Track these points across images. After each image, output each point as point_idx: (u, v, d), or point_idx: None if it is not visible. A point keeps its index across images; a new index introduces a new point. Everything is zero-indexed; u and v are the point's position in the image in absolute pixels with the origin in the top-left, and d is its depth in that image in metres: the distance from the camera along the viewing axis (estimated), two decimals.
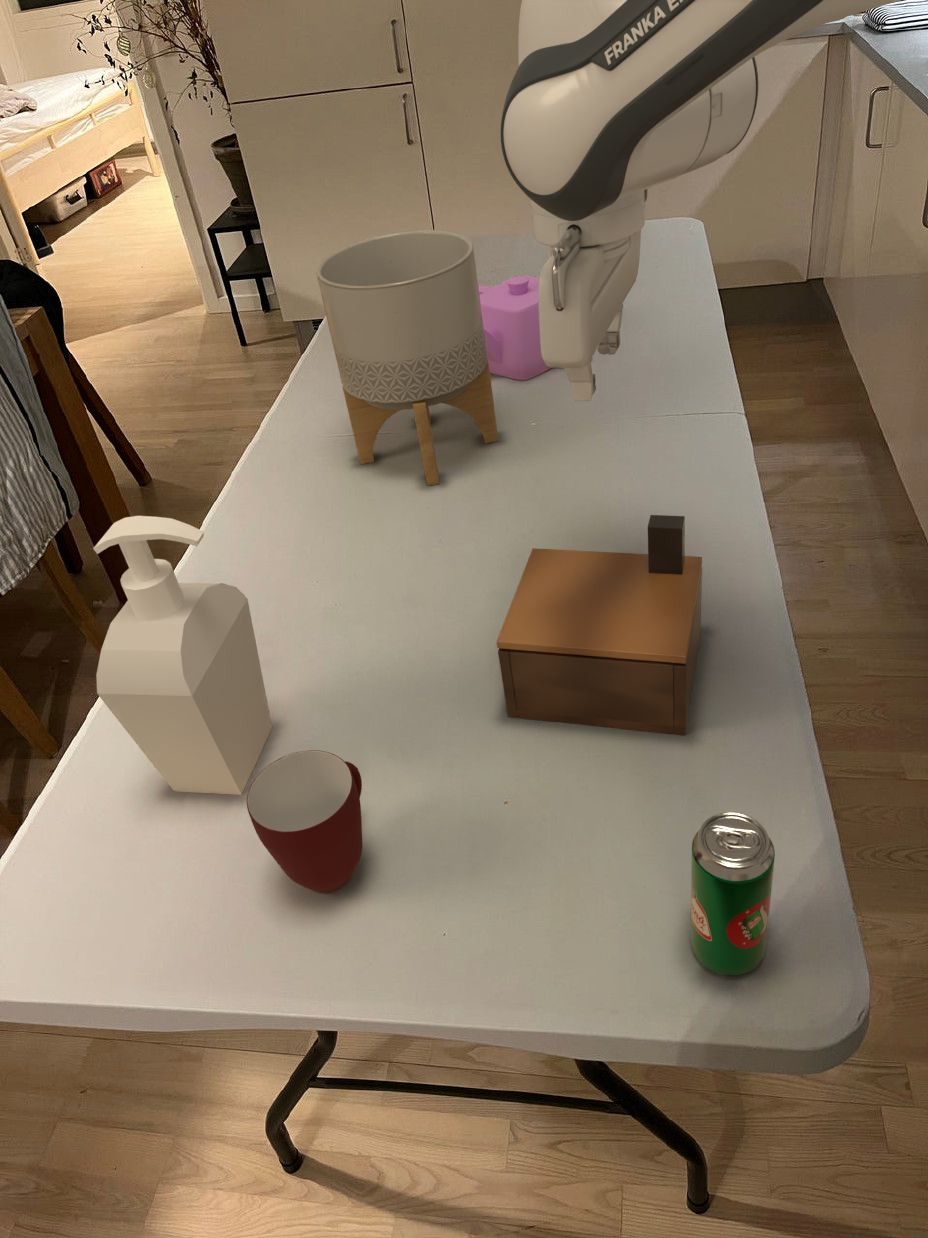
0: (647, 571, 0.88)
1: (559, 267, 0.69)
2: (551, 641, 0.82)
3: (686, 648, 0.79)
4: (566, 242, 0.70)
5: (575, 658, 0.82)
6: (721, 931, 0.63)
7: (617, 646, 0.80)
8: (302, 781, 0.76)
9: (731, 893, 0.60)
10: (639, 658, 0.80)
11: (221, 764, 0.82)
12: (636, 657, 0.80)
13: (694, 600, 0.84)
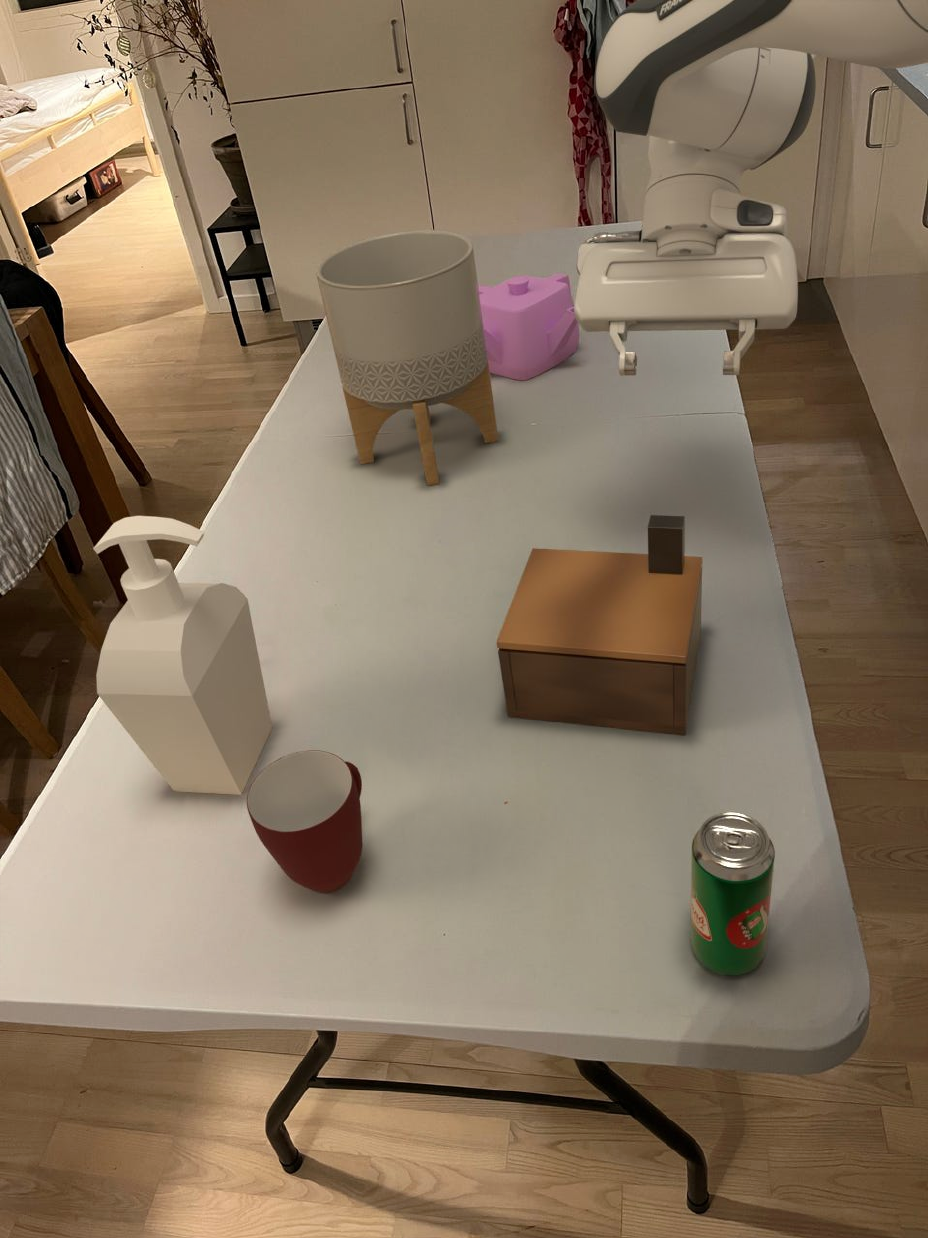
0: (647, 571, 0.88)
1: None
2: (551, 641, 0.82)
3: (686, 648, 0.79)
4: (605, 232, 0.92)
5: (575, 658, 0.82)
6: (721, 931, 0.63)
7: (617, 646, 0.80)
8: (302, 781, 0.76)
9: (731, 893, 0.60)
10: (639, 658, 0.80)
11: (221, 764, 0.82)
12: (636, 657, 0.80)
13: (694, 600, 0.84)
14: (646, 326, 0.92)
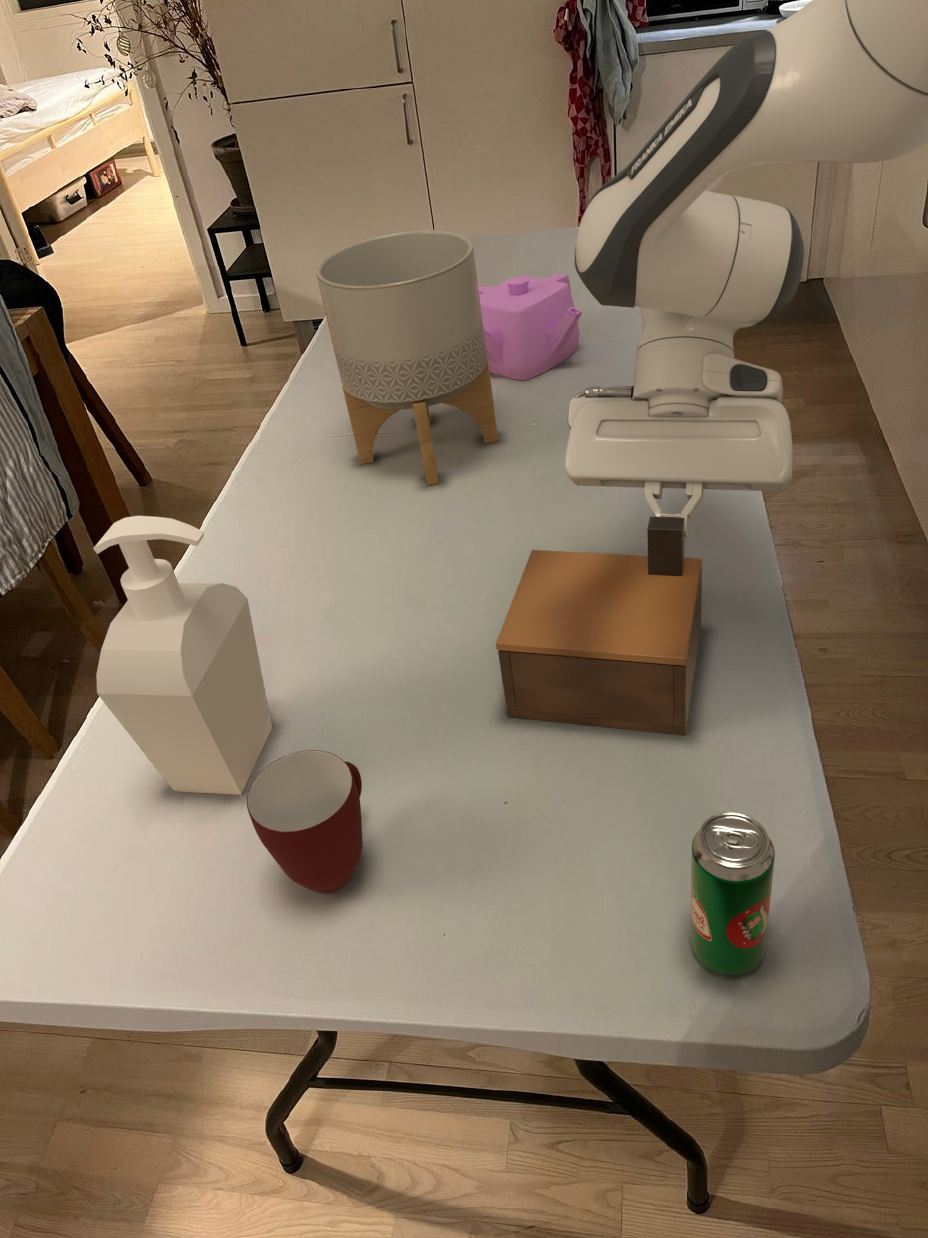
0: (647, 572, 0.88)
1: (572, 398, 0.91)
2: (550, 643, 0.82)
3: (686, 650, 0.79)
4: (596, 387, 0.90)
5: (575, 658, 0.82)
6: (721, 931, 0.63)
7: (617, 648, 0.80)
8: (302, 781, 0.76)
9: (731, 893, 0.60)
10: (639, 660, 0.80)
11: (221, 764, 0.82)
12: (636, 659, 0.80)
13: (694, 602, 0.84)
14: (638, 483, 0.90)
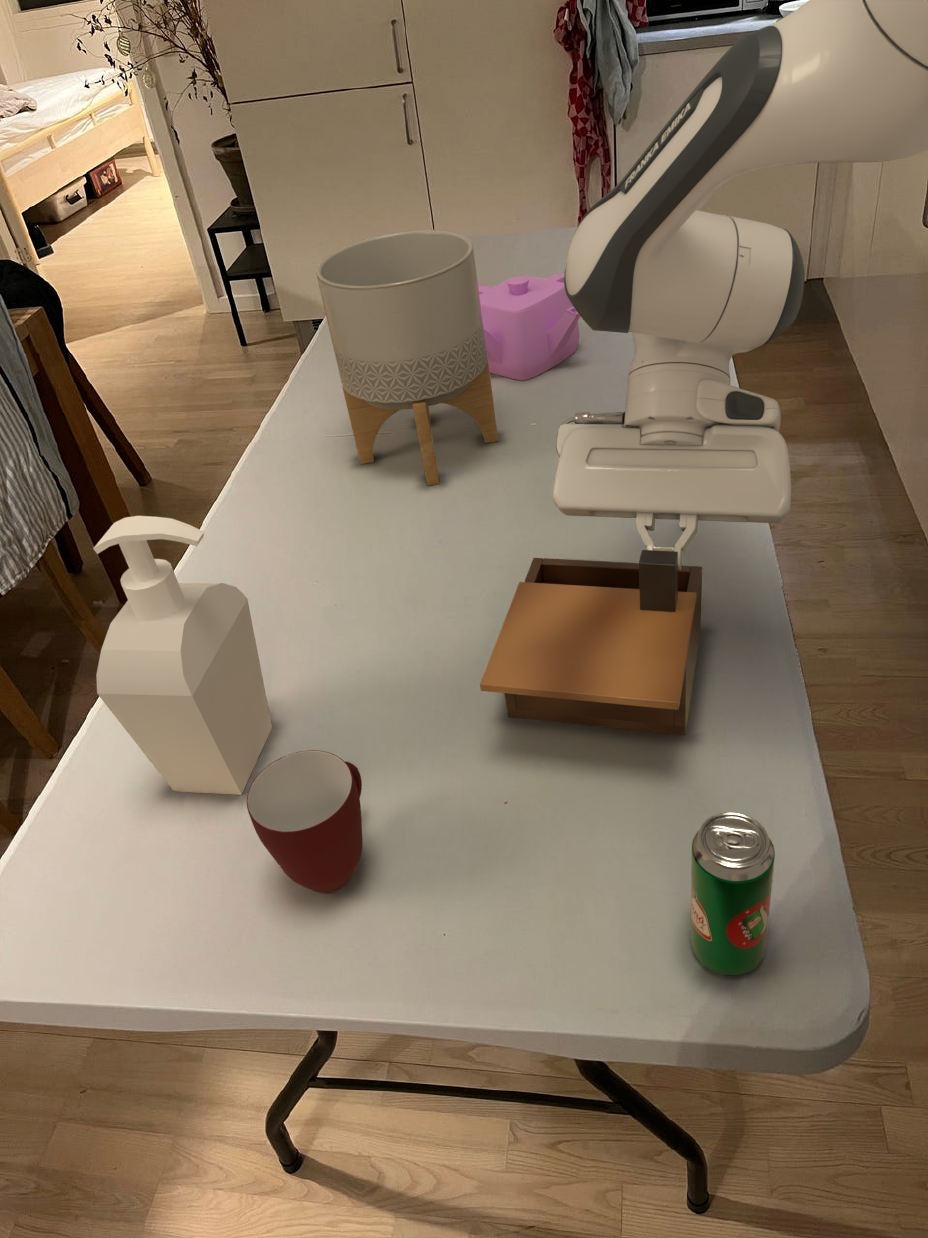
0: (639, 607, 0.84)
1: (561, 424, 0.87)
2: (537, 684, 0.78)
3: (679, 693, 0.75)
4: (586, 413, 0.87)
5: None
6: (721, 931, 0.63)
7: (606, 690, 0.76)
8: (302, 781, 0.76)
9: (731, 893, 0.60)
10: (629, 703, 0.76)
11: (221, 764, 0.82)
12: (626, 703, 0.76)
13: (687, 640, 0.80)
14: (630, 513, 0.86)
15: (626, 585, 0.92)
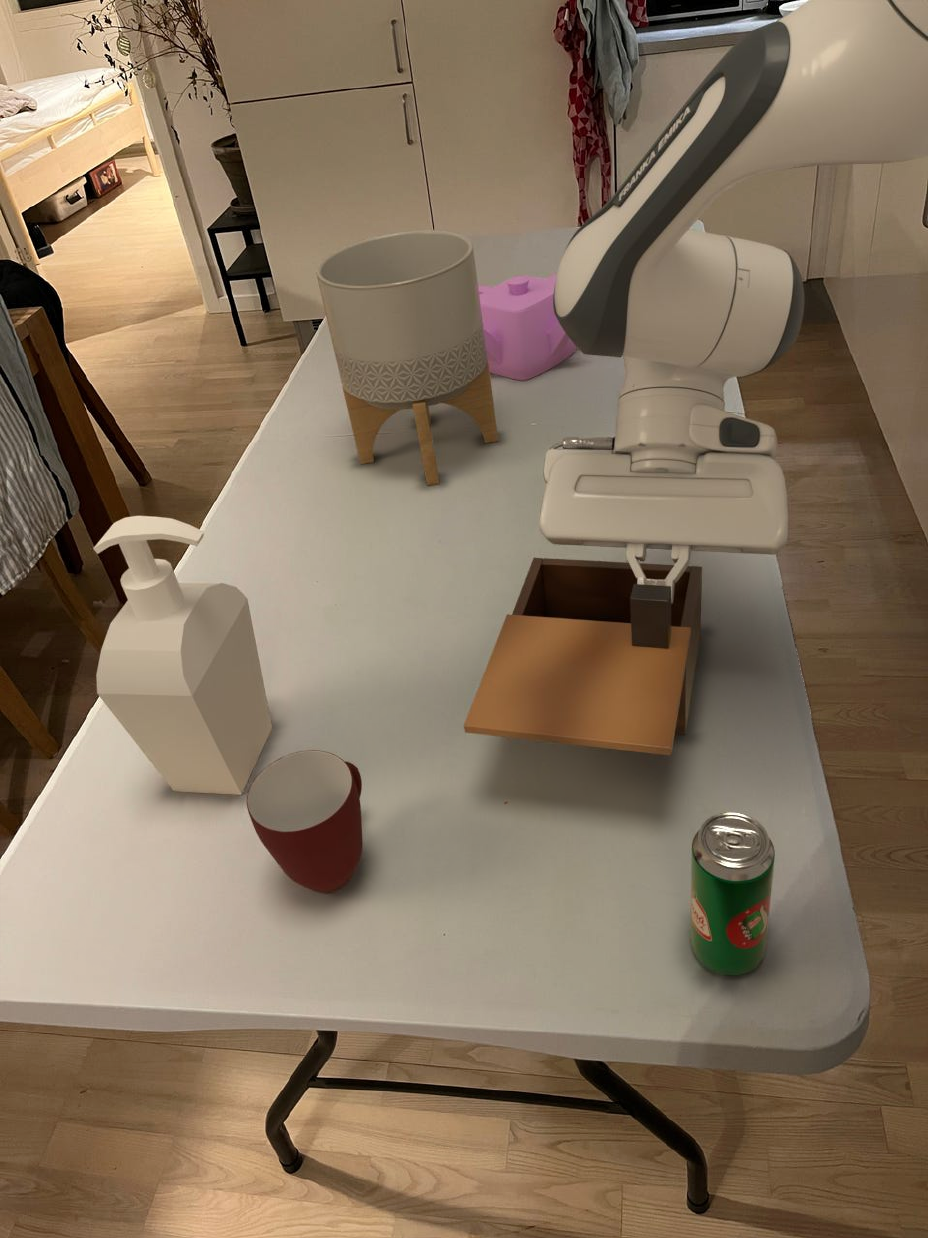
0: (631, 643, 0.80)
1: (549, 449, 0.84)
2: (523, 726, 0.75)
3: (671, 738, 0.72)
4: (574, 437, 0.83)
5: None
6: (721, 931, 0.63)
7: (595, 734, 0.73)
8: (302, 781, 0.76)
9: (731, 893, 0.60)
10: (620, 748, 0.72)
11: (221, 764, 0.82)
12: (616, 747, 0.72)
13: (681, 679, 0.76)
14: (620, 543, 0.82)
15: (626, 585, 0.92)
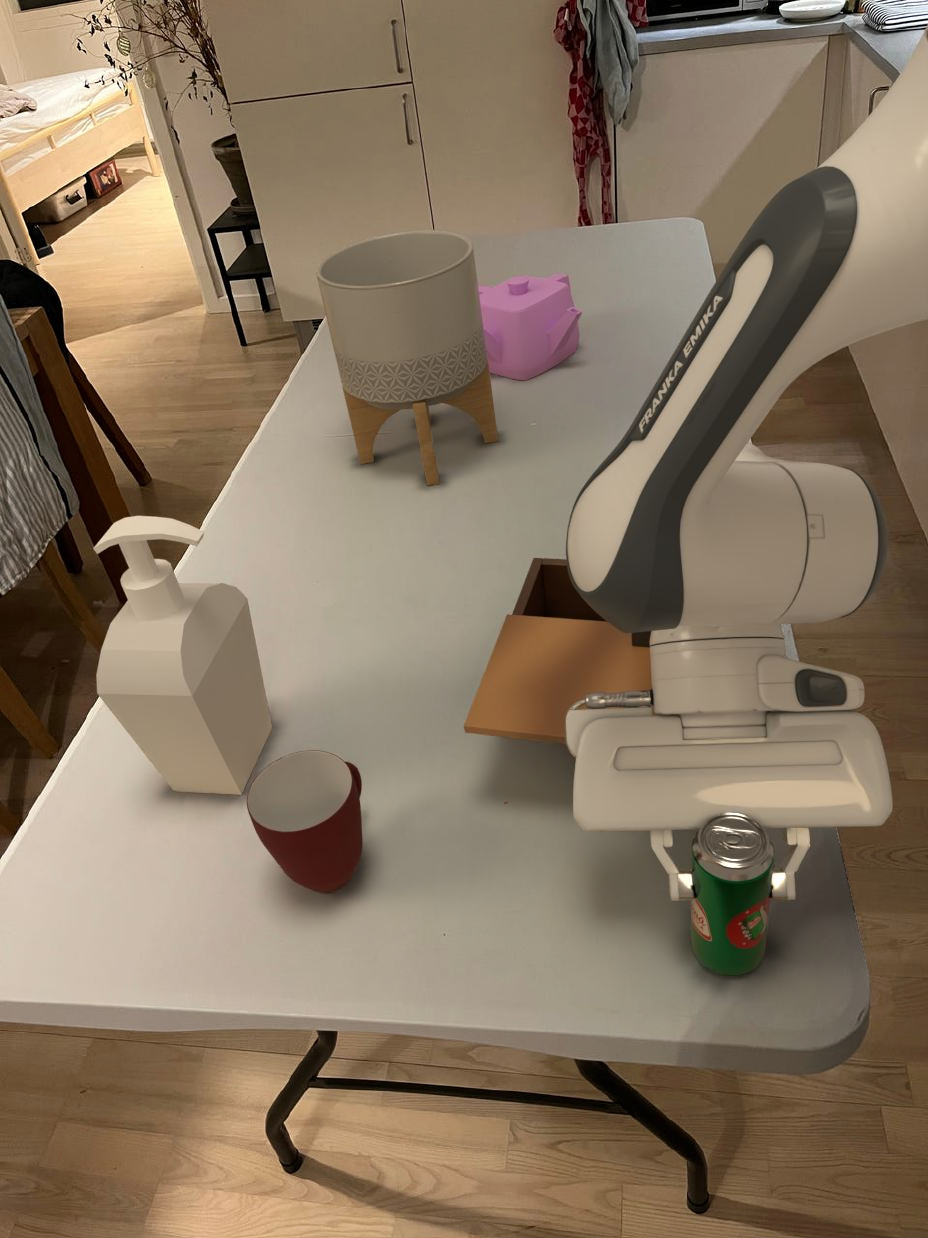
0: (631, 643, 0.80)
1: (569, 711, 0.66)
2: (523, 726, 0.75)
3: None
4: (600, 694, 0.66)
5: None
6: (721, 931, 0.63)
7: None
8: (302, 781, 0.76)
9: (730, 893, 0.60)
10: None
11: (221, 764, 0.82)
12: None
13: None
14: None
15: None
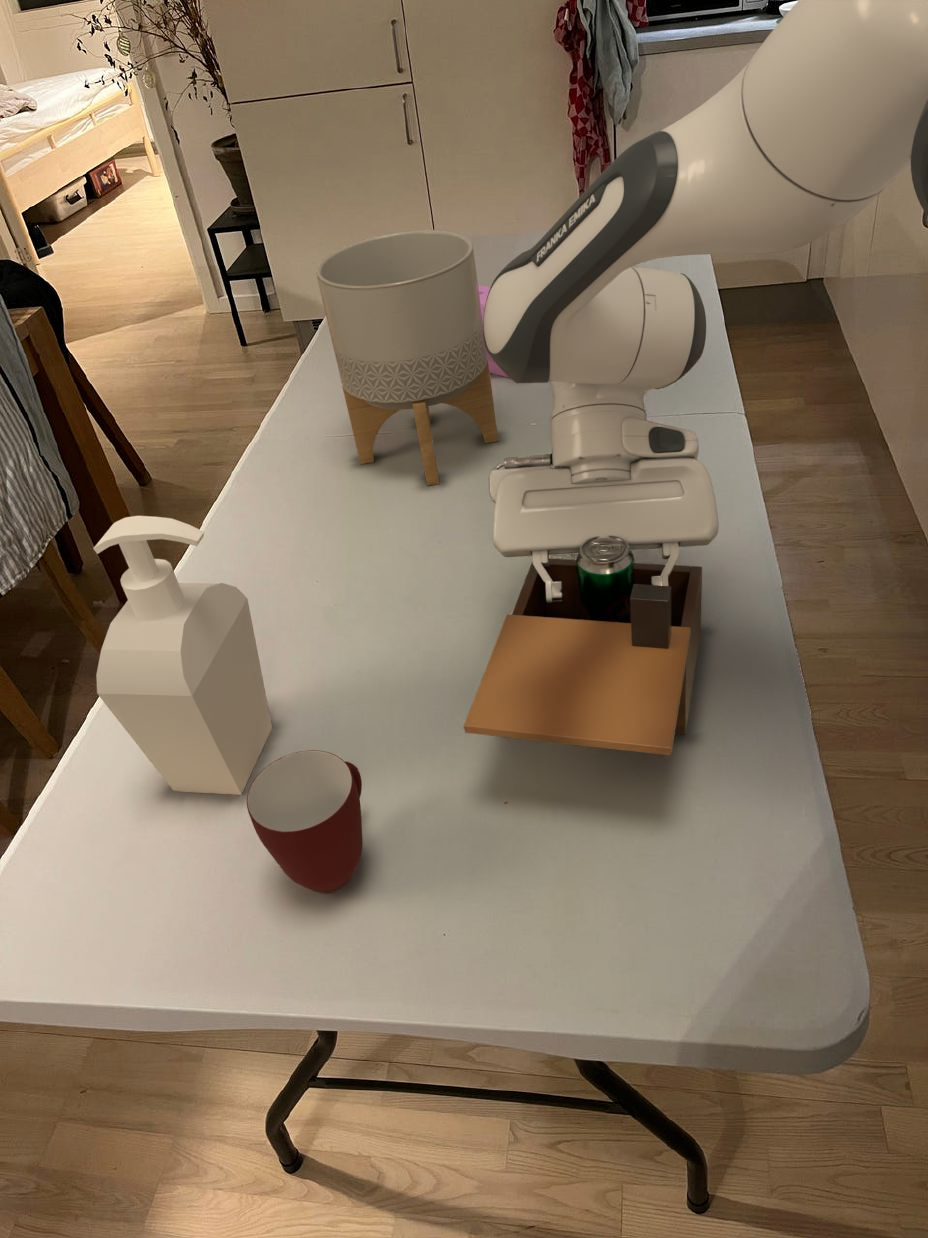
0: (631, 643, 0.80)
1: (492, 470, 0.90)
2: (523, 726, 0.75)
3: (671, 738, 0.72)
4: (514, 457, 0.90)
5: None
6: None
7: (595, 734, 0.73)
8: (302, 781, 0.76)
9: (601, 585, 0.84)
10: (620, 748, 0.72)
11: (221, 764, 0.82)
12: (616, 747, 0.72)
13: (681, 680, 0.76)
14: (567, 549, 0.90)
15: None
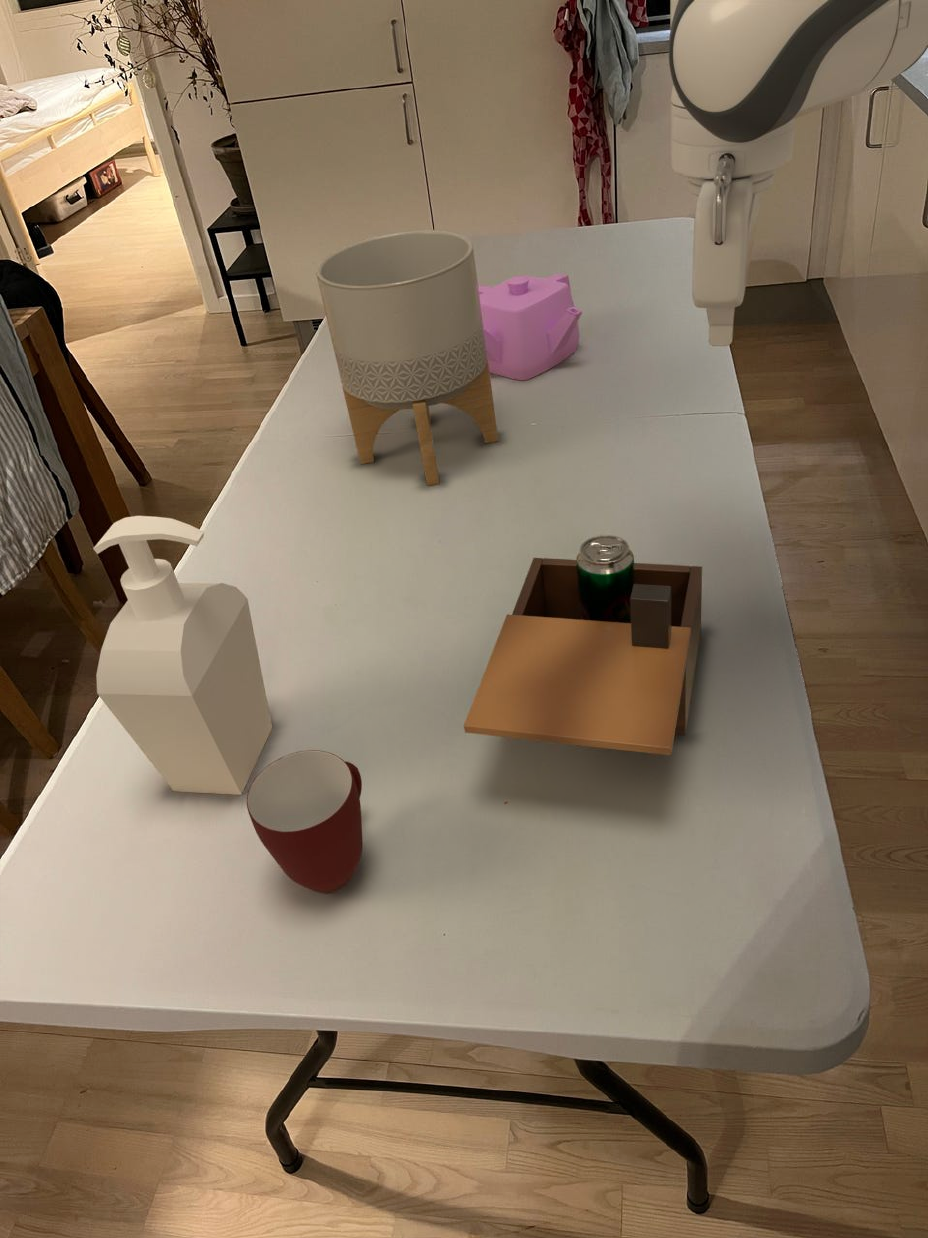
0: (631, 643, 0.80)
1: (724, 196, 0.65)
2: (523, 726, 0.75)
3: (671, 738, 0.72)
4: (728, 170, 0.66)
5: None
6: None
7: (595, 734, 0.73)
8: (302, 781, 0.76)
9: (601, 585, 0.84)
10: (620, 748, 0.72)
11: (221, 764, 0.82)
12: (616, 747, 0.72)
13: (681, 680, 0.76)
14: None
15: None
